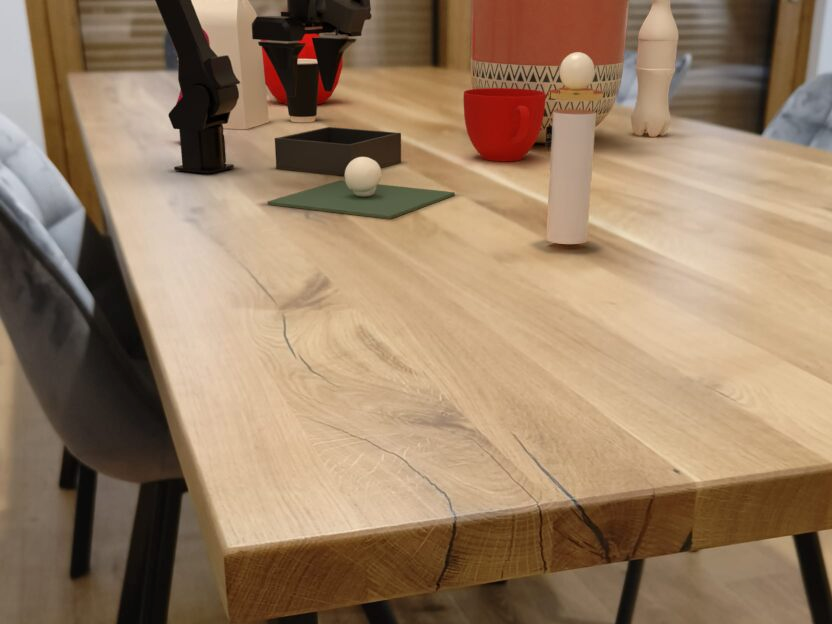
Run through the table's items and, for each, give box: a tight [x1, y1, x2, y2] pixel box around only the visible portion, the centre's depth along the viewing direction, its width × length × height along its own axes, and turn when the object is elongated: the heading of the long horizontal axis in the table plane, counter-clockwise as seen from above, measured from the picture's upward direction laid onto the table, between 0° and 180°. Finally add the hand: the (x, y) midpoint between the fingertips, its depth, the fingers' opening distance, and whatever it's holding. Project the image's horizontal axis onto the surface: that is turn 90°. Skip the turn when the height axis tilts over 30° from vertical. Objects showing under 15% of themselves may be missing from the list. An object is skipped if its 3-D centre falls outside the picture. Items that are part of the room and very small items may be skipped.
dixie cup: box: [286, 59, 319, 123], centre depth 215 cm, size 8×8×11 cm
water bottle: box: [630, 0, 680, 138], centre depth 200 cm, size 7×7×25 cm
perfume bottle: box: [544, 52, 603, 245], centre depth 119 cm, size 6×6×20 cm
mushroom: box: [344, 157, 383, 197], centre depth 145 cm, size 5×5×5 cm
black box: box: [274, 126, 402, 177], centre depth 170 cm, size 15×13×4 cm
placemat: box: [267, 179, 456, 220], centre depth 146 cm, size 18×18×1 cm
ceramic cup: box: [463, 88, 546, 162], centre depth 175 cm, size 13×17×10 cm
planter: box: [470, 0, 631, 144], centre depth 191 cm, size 27×27×27 cm
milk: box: [191, 0, 270, 130], centre depth 206 cm, size 12×12×26 cm
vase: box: [262, 8, 344, 105], centre depth 239 cm, size 18×18×30 cm
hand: (310, 93), depth 156 cm, fingers open, 9 cm apart
